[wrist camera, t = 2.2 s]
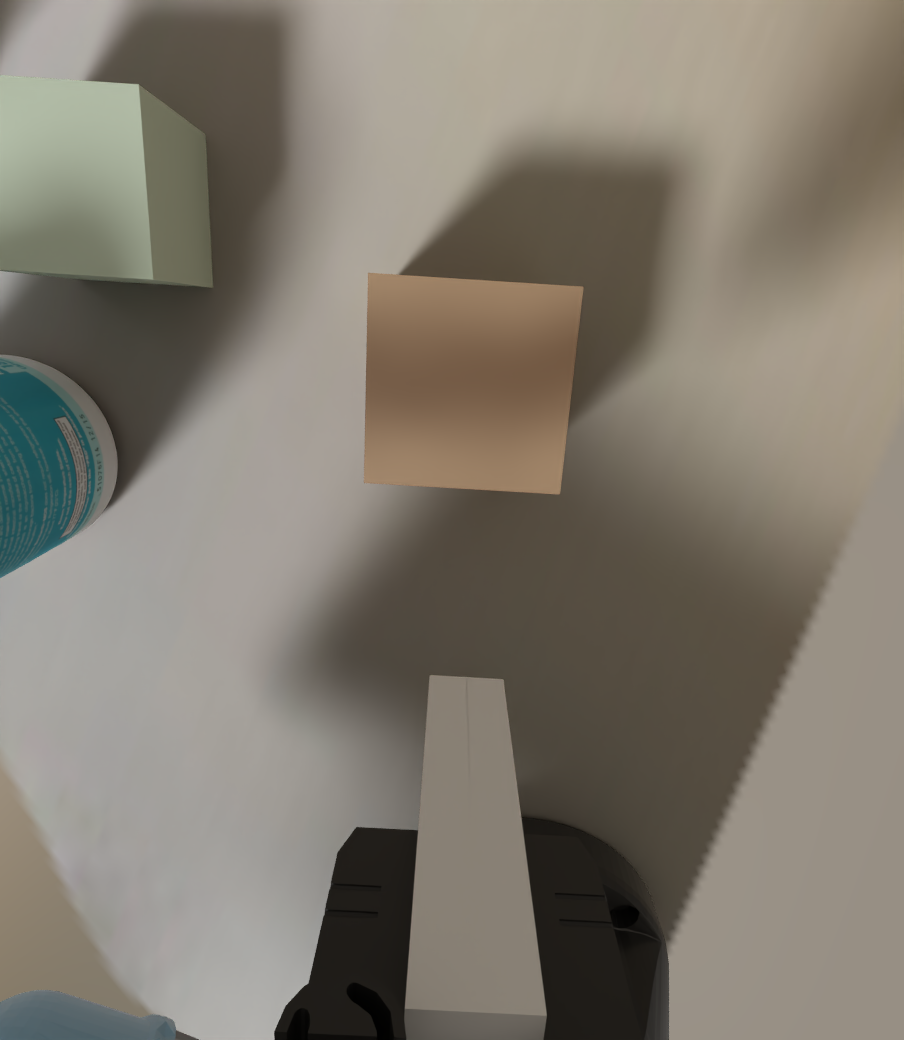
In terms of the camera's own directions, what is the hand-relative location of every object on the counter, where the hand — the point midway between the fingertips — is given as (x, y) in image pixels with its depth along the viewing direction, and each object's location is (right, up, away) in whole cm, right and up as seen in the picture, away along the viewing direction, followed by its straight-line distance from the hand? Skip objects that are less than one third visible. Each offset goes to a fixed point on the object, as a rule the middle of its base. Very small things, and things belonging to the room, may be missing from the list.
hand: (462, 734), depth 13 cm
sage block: (-11, +16, +10) cm, 22 cm away
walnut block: (0, +10, +11) cm, 15 cm away
